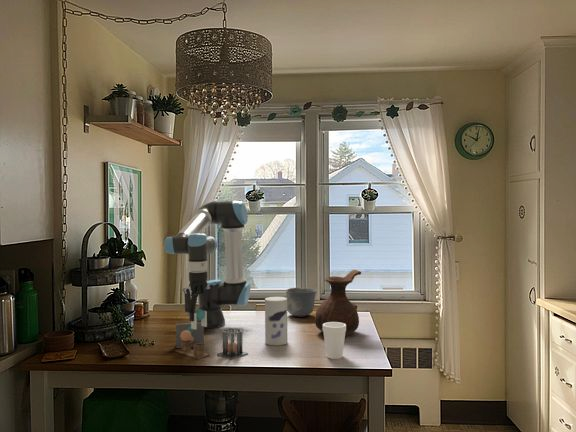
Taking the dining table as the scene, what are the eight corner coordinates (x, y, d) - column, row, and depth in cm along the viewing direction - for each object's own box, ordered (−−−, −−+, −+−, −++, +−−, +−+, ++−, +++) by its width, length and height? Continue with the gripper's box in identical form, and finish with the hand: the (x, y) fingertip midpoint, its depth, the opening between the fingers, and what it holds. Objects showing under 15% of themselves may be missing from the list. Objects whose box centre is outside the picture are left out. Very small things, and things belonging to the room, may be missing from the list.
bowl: (323, 315, 270) (322, 288, 270) (307, 321, 256) (307, 293, 255) (296, 311, 280) (296, 286, 280) (279, 317, 265) (279, 290, 265)
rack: (175, 351, 203) (175, 340, 203) (187, 348, 208) (187, 337, 208) (198, 359, 192) (198, 347, 192) (210, 355, 197) (209, 344, 197)
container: (271, 346, 209) (270, 301, 209) (261, 341, 218) (261, 297, 217) (291, 343, 213) (291, 299, 213) (281, 338, 222) (281, 295, 222)
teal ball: (191, 320, 197) (190, 309, 197) (200, 318, 200) (199, 307, 200) (197, 322, 194) (197, 311, 194) (206, 320, 197) (206, 309, 197)
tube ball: (224, 353, 198) (224, 342, 198) (233, 351, 201) (233, 340, 201) (231, 355, 195) (231, 344, 195) (240, 353, 198) (240, 342, 198)
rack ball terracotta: (178, 341, 203) (178, 330, 203) (187, 339, 206) (187, 328, 206) (184, 343, 200) (184, 332, 200) (193, 341, 203) (193, 330, 203)
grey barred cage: (217, 355, 198) (216, 330, 198) (233, 350, 204) (233, 326, 204) (231, 359, 192) (231, 334, 191) (248, 354, 198) (247, 330, 198)
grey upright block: (176, 344, 213) (176, 322, 213) (203, 342, 216) (203, 320, 216) (176, 347, 209) (175, 325, 208) (204, 345, 211) (203, 323, 211)
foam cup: (321, 353, 199) (321, 322, 199) (343, 352, 200) (343, 321, 200) (325, 360, 189) (324, 327, 189) (348, 359, 190) (347, 327, 190)
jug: (356, 341, 217) (355, 275, 217) (310, 337, 224) (309, 273, 223) (363, 329, 238) (362, 269, 238) (320, 326, 244) (320, 268, 244)
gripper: (185, 274, 188) (186, 333, 188) (220, 269, 200) (221, 324, 201) (174, 272, 193) (175, 330, 193) (209, 268, 206) (210, 321, 206)
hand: (199, 327), depth 197 cm, fingers closed on teal ball, 4 cm apart
